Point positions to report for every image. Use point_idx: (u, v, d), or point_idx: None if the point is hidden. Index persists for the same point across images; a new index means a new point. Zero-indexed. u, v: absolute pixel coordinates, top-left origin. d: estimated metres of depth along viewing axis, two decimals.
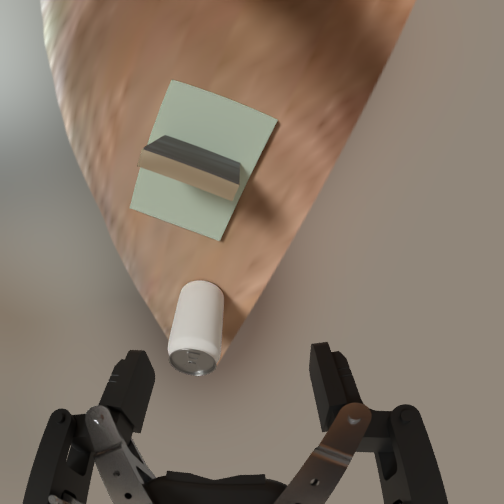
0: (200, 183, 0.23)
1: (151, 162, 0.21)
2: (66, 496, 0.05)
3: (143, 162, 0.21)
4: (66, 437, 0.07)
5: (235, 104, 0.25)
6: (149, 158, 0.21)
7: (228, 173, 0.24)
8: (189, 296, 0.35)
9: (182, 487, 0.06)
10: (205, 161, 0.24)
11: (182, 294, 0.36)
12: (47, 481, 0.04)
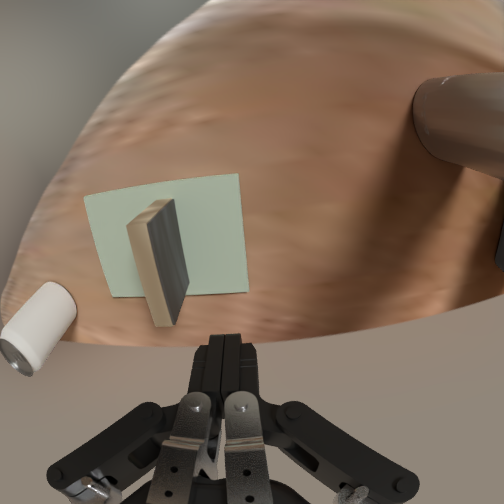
0: (150, 296, 0.20)
1: (138, 240, 0.18)
2: (105, 481, 0.06)
3: (133, 231, 0.18)
4: (144, 435, 0.07)
5: (242, 251, 0.26)
6: (141, 235, 0.18)
7: (175, 305, 0.22)
8: (51, 302, 0.26)
9: None
10: (172, 275, 0.22)
11: (48, 291, 0.26)
12: (93, 463, 0.06)
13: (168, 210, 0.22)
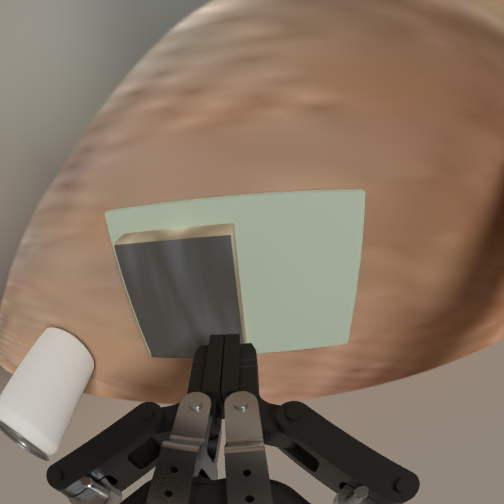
0: None
1: None
2: (105, 481, 0.06)
3: None
4: (143, 435, 0.07)
5: (352, 296, 0.18)
6: None
7: (165, 347, 0.18)
8: (60, 361, 0.17)
9: None
10: (169, 321, 0.17)
11: (53, 343, 0.18)
12: (93, 463, 0.06)
13: (191, 247, 0.14)
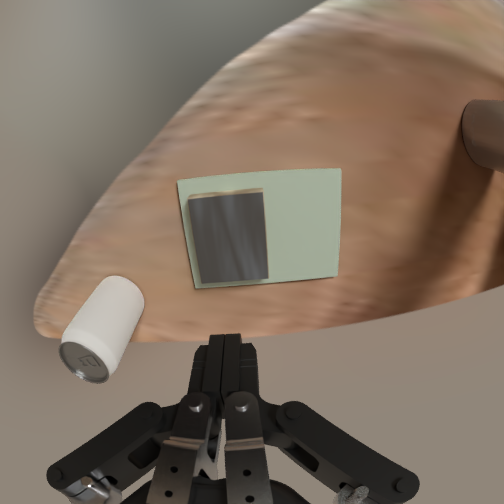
0: None
1: None
2: (105, 481, 0.06)
3: None
4: (144, 435, 0.07)
5: (337, 238, 0.28)
6: None
7: (213, 273, 0.27)
8: (122, 297, 0.27)
9: None
10: (219, 251, 0.26)
11: (116, 285, 0.28)
12: (93, 463, 0.06)
13: (239, 199, 0.24)
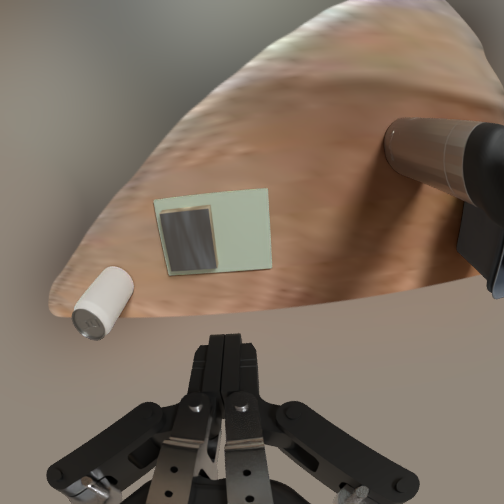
0: None
1: None
2: (105, 481, 0.06)
3: None
4: (143, 435, 0.07)
5: (268, 239, 0.39)
6: None
7: (178, 264, 0.39)
8: (117, 281, 0.38)
9: None
10: (181, 249, 0.38)
11: (113, 272, 0.39)
12: (93, 463, 0.06)
13: (192, 213, 0.36)
